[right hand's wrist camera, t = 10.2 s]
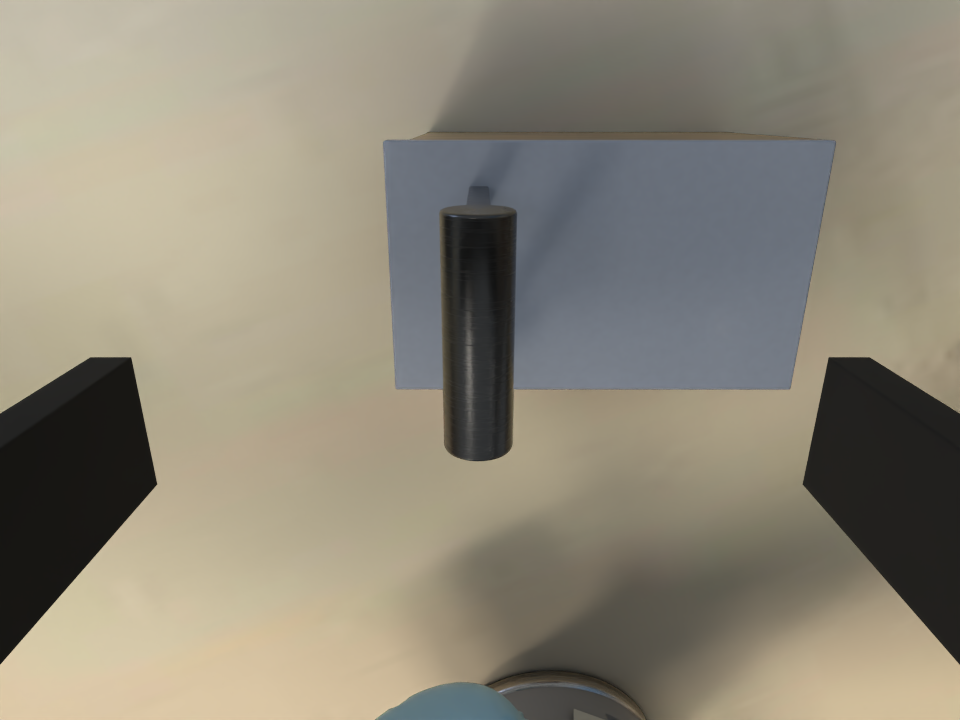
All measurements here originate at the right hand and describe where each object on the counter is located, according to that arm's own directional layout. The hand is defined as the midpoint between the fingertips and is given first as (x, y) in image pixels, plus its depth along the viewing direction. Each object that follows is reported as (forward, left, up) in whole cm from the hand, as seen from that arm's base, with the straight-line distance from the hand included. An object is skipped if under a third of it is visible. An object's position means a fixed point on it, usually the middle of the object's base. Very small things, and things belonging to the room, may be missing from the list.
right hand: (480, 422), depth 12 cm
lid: (+2, -4, -13) cm, 14 cm away
